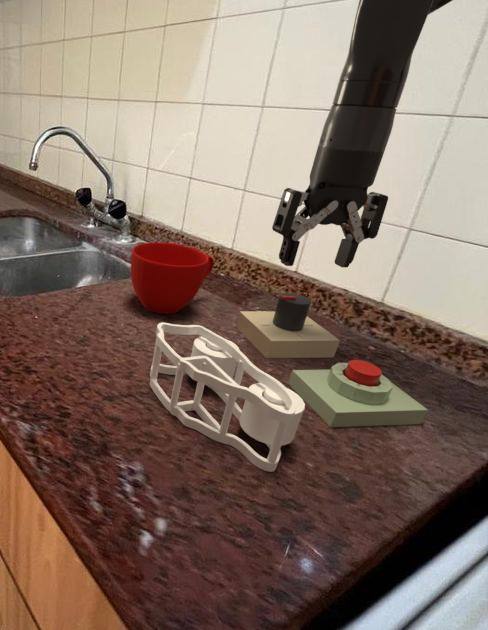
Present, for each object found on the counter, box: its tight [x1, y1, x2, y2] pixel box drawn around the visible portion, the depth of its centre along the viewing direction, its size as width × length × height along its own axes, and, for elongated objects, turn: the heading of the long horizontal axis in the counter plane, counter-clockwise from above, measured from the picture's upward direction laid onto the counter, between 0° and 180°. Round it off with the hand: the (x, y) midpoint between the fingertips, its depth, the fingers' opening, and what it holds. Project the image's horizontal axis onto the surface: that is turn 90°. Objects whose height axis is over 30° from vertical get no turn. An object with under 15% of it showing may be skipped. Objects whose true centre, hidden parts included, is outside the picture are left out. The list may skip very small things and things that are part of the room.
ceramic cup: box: [130, 242, 215, 315], centre depth 80 cm, size 13×17×10 cm
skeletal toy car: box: [149, 321, 306, 473], centre depth 52 cm, size 20×11×7 cm, turn 17°
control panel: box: [235, 310, 341, 359], centre depth 71 cm, size 11×10×3 cm
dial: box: [273, 292, 312, 331], centre depth 69 cm, size 4×4×5 cm
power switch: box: [287, 362, 428, 428], centre depth 57 cm, size 12×9×4 cm
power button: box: [344, 359, 383, 387], centre depth 56 cm, size 4×4×2 cm
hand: (313, 265), depth 65 cm, fingers open, 8 cm apart
